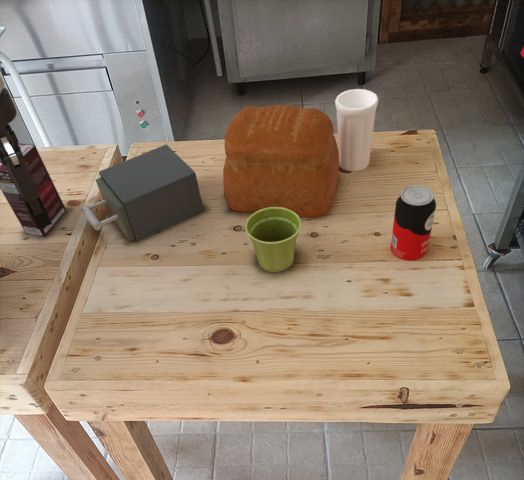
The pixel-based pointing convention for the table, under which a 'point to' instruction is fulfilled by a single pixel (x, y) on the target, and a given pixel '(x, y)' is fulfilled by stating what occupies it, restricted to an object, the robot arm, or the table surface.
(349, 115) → the cup
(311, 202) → the bread
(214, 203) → the table surface
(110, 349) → the table surface
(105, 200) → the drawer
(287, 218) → the plant pot
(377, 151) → the table surface
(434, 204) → the beverage can
